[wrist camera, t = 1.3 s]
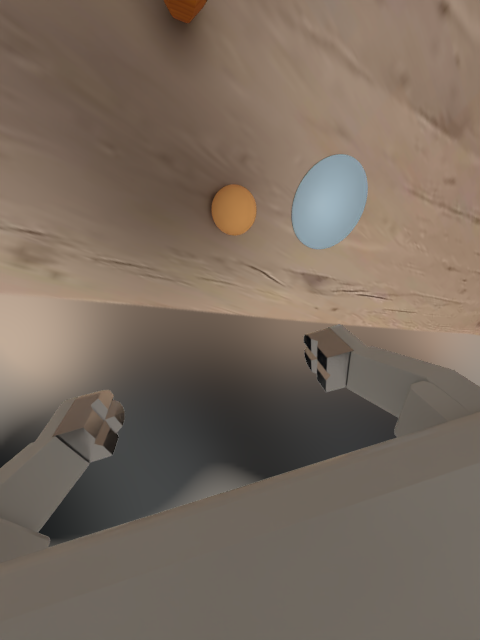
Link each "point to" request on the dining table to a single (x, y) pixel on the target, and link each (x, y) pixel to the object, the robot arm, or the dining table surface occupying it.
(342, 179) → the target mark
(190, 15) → the carrot
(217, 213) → the ball
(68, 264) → the dining table surface
